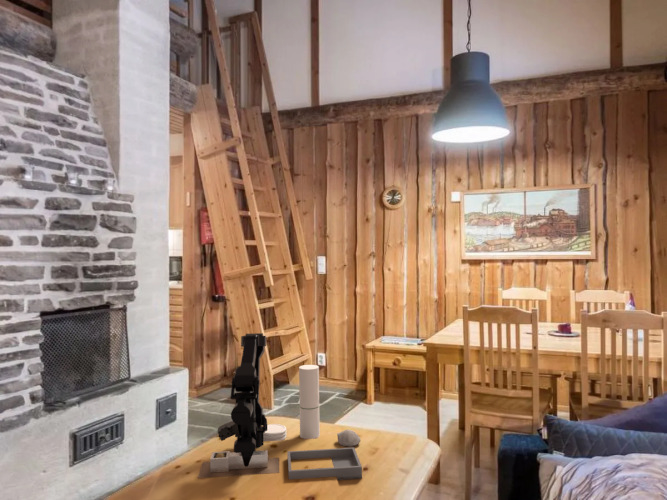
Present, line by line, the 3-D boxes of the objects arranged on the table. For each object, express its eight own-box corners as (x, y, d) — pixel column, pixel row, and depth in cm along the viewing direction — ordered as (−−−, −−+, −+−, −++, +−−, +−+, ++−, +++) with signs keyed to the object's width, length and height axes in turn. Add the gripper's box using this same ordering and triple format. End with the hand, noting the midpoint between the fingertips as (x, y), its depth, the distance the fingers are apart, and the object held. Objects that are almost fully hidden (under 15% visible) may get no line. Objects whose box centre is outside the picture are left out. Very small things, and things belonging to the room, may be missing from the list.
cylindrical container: (320, 432, 190) (319, 364, 190) (318, 439, 183) (317, 369, 183) (301, 431, 191) (300, 364, 191) (298, 439, 184) (297, 369, 184)
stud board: (279, 461, 165) (278, 443, 165) (279, 476, 154) (279, 457, 154) (202, 466, 162) (202, 447, 162) (197, 481, 151) (197, 462, 151)
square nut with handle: (267, 461, 162) (267, 448, 162) (267, 468, 157) (267, 455, 157) (212, 464, 160) (212, 452, 160) (210, 472, 155) (210, 459, 155)
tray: (354, 458, 167) (354, 447, 167) (362, 478, 152) (361, 466, 152) (287, 462, 164) (287, 451, 164) (288, 483, 150) (288, 471, 150)
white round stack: (258, 434, 190) (258, 424, 190) (285, 431, 192) (285, 422, 192) (259, 444, 180) (259, 434, 180) (287, 442, 182) (287, 432, 182)
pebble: (333, 447, 177) (333, 432, 177) (339, 438, 184) (339, 424, 184) (358, 449, 174) (358, 434, 174) (363, 440, 182) (363, 426, 182)
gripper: (222, 405, 167) (222, 453, 167) (215, 425, 148) (216, 479, 148) (256, 403, 168) (257, 451, 168) (254, 423, 149) (255, 476, 150)
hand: (246, 463), depth 159 cm, fingers closed on square nut with handle, 3 cm apart
